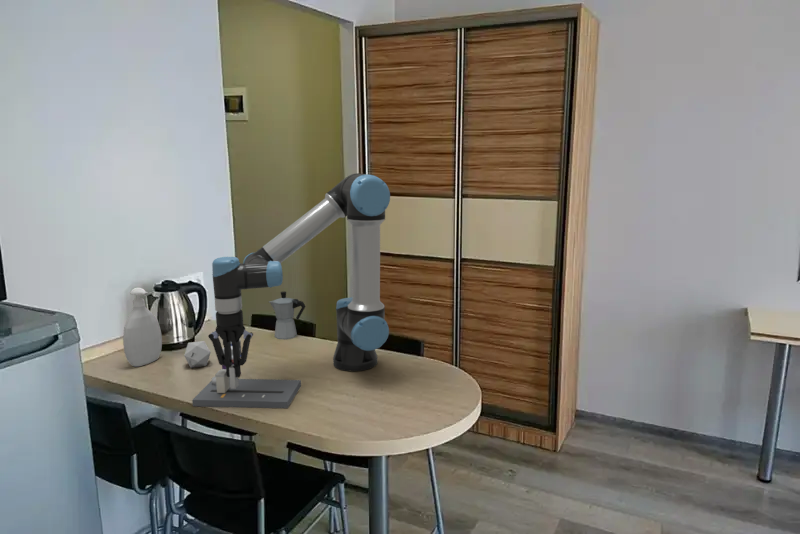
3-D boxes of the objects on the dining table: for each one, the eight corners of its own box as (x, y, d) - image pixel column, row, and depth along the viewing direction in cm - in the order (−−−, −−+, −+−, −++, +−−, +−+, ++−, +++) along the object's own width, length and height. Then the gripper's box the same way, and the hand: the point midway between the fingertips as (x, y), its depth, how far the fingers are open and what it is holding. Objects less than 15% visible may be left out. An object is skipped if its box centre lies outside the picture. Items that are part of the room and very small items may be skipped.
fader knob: (230, 387, 180) (228, 369, 178) (225, 393, 175) (223, 374, 174) (221, 387, 180) (220, 369, 179) (216, 392, 176) (215, 374, 174)
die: (179, 367, 205) (177, 351, 197) (194, 347, 211) (192, 331, 203) (202, 376, 204) (200, 360, 197) (215, 357, 210) (215, 340, 203)
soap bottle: (136, 372, 199) (127, 294, 193) (120, 368, 203) (111, 291, 197) (171, 358, 211) (164, 284, 206) (156, 354, 215) (148, 282, 210)
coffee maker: (266, 339, 231) (263, 294, 227) (274, 332, 239) (272, 288, 236) (303, 340, 228) (300, 295, 225) (310, 333, 237) (308, 289, 233)
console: (301, 386, 186) (300, 375, 185) (287, 408, 170) (286, 396, 169) (214, 384, 188) (213, 373, 187) (192, 406, 172) (191, 394, 172)
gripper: (255, 307, 175) (259, 382, 180) (212, 306, 176) (218, 381, 181) (246, 314, 168) (251, 392, 173) (202, 313, 169) (208, 391, 174)
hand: (234, 386), depth 177 cm, fingers closed
